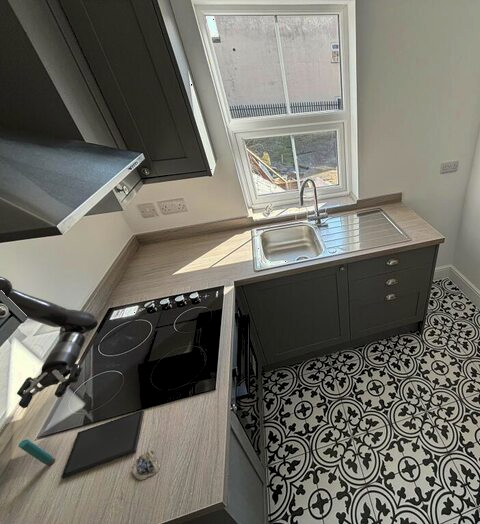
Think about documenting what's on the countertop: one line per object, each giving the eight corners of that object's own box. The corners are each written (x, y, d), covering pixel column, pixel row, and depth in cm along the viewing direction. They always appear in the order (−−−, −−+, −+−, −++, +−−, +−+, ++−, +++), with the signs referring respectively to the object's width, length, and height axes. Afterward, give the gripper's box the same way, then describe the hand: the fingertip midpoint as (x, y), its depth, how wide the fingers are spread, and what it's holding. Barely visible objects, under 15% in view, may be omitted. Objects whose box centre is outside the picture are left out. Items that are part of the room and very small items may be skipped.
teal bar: (45, 467, 84) (16, 448, 77) (48, 460, 85) (20, 440, 78) (54, 464, 84) (25, 445, 77) (57, 457, 86) (29, 437, 79)
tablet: (63, 479, 81) (60, 477, 80) (79, 433, 91) (77, 432, 90) (136, 451, 86) (134, 450, 85) (144, 411, 96) (142, 409, 95)
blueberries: (147, 448, 86) (144, 445, 85) (168, 457, 84) (165, 454, 83) (126, 474, 81) (123, 471, 80) (148, 484, 79) (145, 481, 78)
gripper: (29, 358, 95) (1, 403, 82) (80, 344, 98) (61, 385, 86) (44, 372, 99) (19, 417, 86) (93, 358, 103) (76, 399, 90)
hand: (40, 401), depth 86 cm, fingers open, 8 cm apart
